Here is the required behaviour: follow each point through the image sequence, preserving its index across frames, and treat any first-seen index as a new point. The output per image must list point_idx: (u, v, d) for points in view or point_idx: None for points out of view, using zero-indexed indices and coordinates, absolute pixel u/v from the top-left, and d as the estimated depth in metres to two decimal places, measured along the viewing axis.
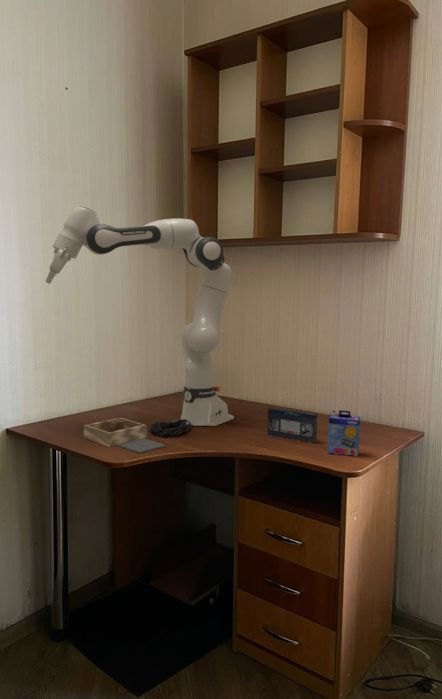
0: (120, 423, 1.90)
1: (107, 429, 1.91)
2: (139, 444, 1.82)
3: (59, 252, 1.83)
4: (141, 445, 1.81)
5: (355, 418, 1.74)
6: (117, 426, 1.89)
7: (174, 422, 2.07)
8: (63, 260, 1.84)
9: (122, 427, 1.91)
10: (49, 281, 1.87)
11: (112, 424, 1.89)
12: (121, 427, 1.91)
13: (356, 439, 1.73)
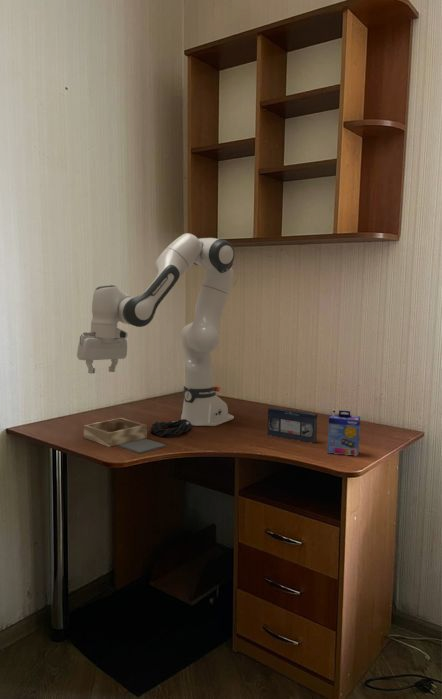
0: (120, 423, 1.90)
1: (107, 429, 1.91)
2: (139, 444, 1.82)
3: (80, 341, 1.80)
4: (141, 445, 1.81)
5: (355, 418, 1.74)
6: (117, 426, 1.89)
7: (174, 422, 2.07)
8: (83, 347, 1.78)
9: (122, 427, 1.91)
10: (90, 371, 1.83)
11: (112, 424, 1.89)
12: (121, 427, 1.91)
13: (356, 439, 1.73)
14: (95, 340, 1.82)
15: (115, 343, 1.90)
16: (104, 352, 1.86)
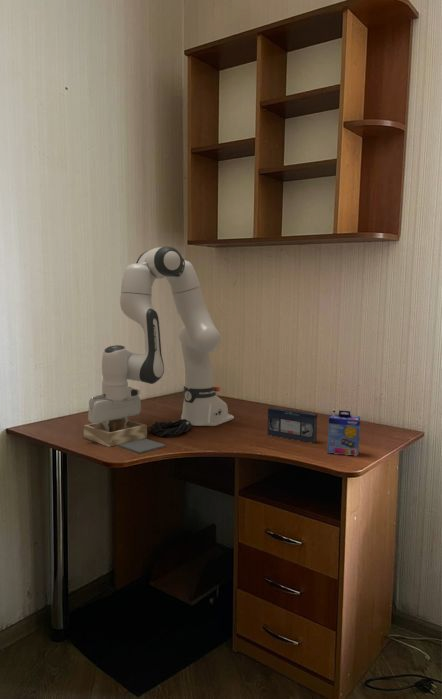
0: (120, 423, 1.90)
1: None
2: (139, 444, 1.82)
3: None
4: (141, 445, 1.81)
5: (355, 418, 1.74)
6: (117, 426, 1.89)
7: (174, 422, 2.07)
8: (93, 410, 1.83)
9: (122, 427, 1.91)
10: (107, 431, 1.89)
11: (112, 424, 1.89)
12: (121, 427, 1.91)
13: (356, 439, 1.73)
14: (105, 402, 1.85)
15: (127, 401, 1.92)
16: (116, 412, 1.89)
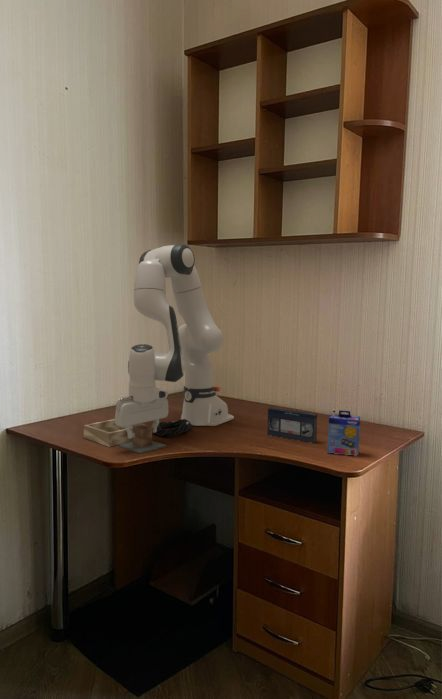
0: (147, 429, 1.80)
1: (134, 435, 1.81)
2: None
3: None
4: None
5: (355, 418, 1.74)
6: (145, 432, 1.79)
7: (174, 422, 2.07)
8: (120, 413, 1.72)
9: (149, 433, 1.81)
10: (130, 436, 1.77)
11: (139, 430, 1.79)
12: (148, 433, 1.80)
13: (356, 439, 1.73)
14: (132, 405, 1.75)
15: (155, 404, 1.82)
16: (144, 415, 1.79)
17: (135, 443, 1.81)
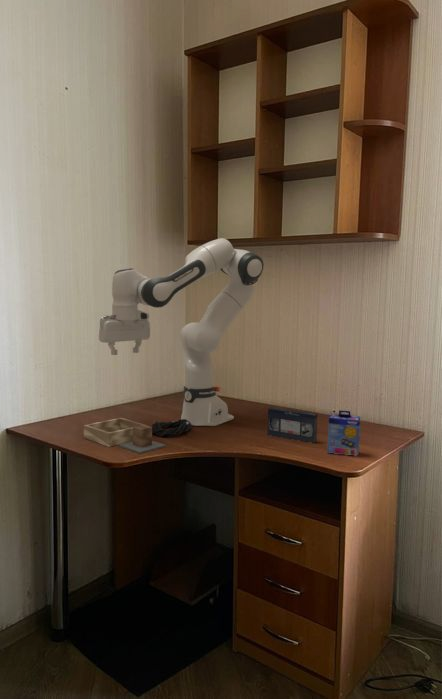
0: (147, 429, 1.80)
1: (134, 435, 1.81)
2: None
3: None
4: None
5: (355, 418, 1.74)
6: (145, 432, 1.79)
7: (174, 422, 2.07)
8: (103, 329, 1.85)
9: (149, 433, 1.81)
10: (113, 353, 1.90)
11: (139, 430, 1.79)
12: (148, 433, 1.80)
13: (356, 439, 1.73)
14: (115, 322, 1.88)
15: (137, 325, 1.95)
16: (126, 334, 1.92)
17: (135, 443, 1.81)
